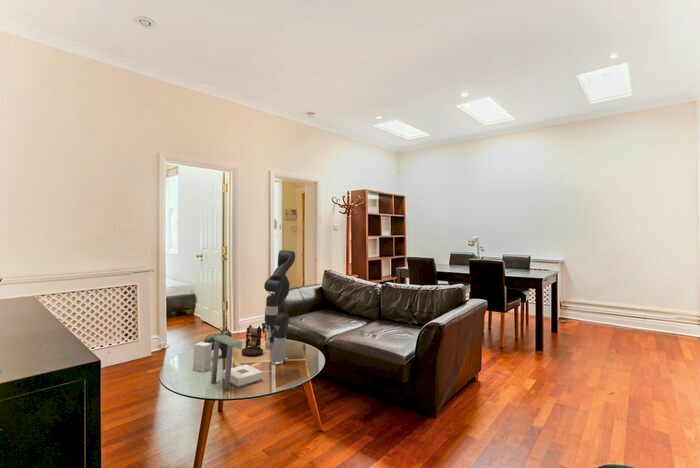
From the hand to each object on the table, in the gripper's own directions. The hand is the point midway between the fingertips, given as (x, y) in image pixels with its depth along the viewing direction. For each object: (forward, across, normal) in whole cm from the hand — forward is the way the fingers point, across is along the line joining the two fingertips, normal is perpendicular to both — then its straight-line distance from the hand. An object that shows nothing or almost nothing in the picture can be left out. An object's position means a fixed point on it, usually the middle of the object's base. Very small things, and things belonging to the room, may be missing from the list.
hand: (269, 341), depth 207 cm
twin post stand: (+20, +4, +26) cm, 33 cm away
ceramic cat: (+21, +46, +6) cm, 51 cm away
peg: (+4, 0, 0) cm, 4 cm away
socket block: (+20, +4, +14) cm, 25 cm away
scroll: (+21, +39, -18) cm, 48 cm away
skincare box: (+21, +33, +23) cm, 45 cm away
